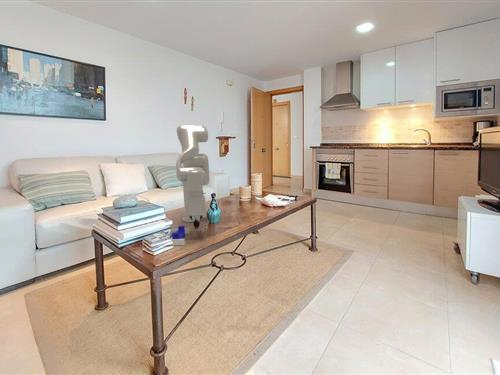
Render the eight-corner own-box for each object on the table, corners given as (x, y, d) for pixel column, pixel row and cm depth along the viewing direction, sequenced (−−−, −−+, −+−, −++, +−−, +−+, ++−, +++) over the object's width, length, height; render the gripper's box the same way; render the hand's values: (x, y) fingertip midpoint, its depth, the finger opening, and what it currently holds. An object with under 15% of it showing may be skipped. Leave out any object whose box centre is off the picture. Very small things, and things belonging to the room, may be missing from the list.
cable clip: (176, 236, 142) (176, 225, 141) (185, 236, 142) (184, 225, 141) (169, 245, 131) (169, 233, 130) (178, 245, 131) (178, 233, 130)
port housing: (170, 234, 145) (170, 229, 145) (188, 233, 146) (188, 228, 146) (164, 246, 129) (164, 240, 128) (184, 245, 130) (184, 239, 130)
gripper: (210, 191, 139) (211, 224, 143) (181, 192, 138) (183, 225, 142) (209, 195, 132) (210, 229, 136) (179, 195, 130) (181, 231, 134)
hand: (196, 227), depth 139 cm, fingers closed
